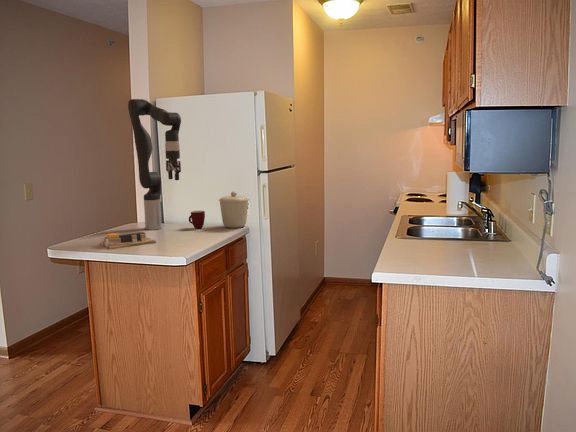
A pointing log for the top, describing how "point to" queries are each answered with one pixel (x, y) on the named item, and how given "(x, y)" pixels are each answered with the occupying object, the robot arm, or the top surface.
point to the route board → (117, 242)
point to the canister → (234, 210)
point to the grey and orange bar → (124, 236)
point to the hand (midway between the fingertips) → (173, 179)
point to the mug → (197, 219)
